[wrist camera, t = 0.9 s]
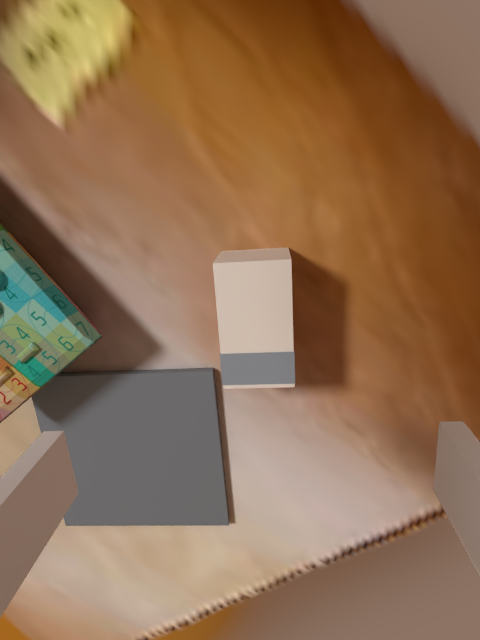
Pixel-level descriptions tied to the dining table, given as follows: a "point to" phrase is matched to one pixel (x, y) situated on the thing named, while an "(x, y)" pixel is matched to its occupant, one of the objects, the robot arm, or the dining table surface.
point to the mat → (139, 446)
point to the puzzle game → (34, 326)
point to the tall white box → (255, 318)
